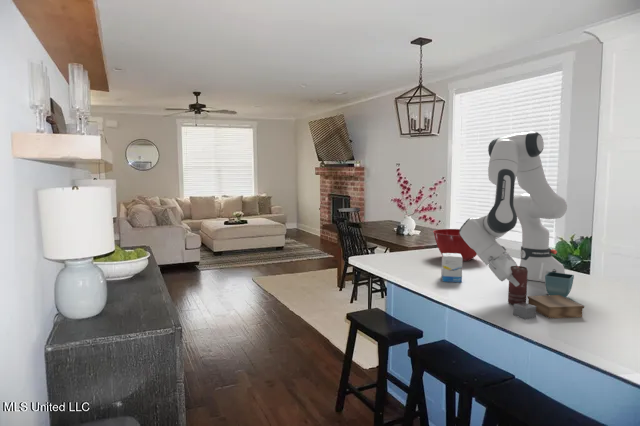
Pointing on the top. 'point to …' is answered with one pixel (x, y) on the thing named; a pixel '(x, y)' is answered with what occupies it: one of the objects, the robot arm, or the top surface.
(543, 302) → the stand
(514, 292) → the can
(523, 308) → the steel block
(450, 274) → the ink box
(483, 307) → the top surface
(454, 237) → the mixing bowl
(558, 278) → the flower pot
